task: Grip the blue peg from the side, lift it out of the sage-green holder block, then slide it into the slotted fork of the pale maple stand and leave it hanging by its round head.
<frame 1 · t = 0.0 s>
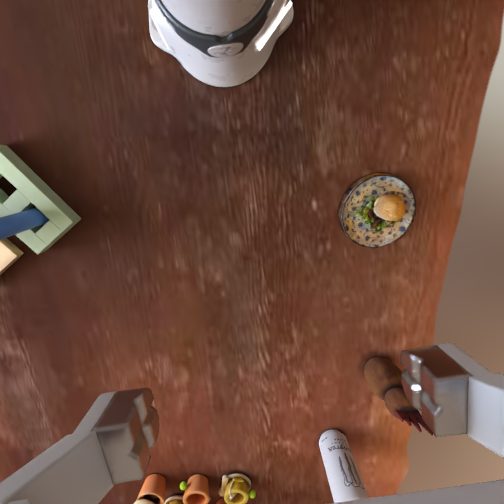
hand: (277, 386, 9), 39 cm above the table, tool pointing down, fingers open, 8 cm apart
toy tea set: (197, 490, 68), on the table
peg: (43, 214, 46), resting in holder
holder: (28, 200, 45), on the table
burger: (374, 210, 48), on the table
energy drink can: (331, 437, 64), on the table
wooden figurine: (375, 363, 58), on the table
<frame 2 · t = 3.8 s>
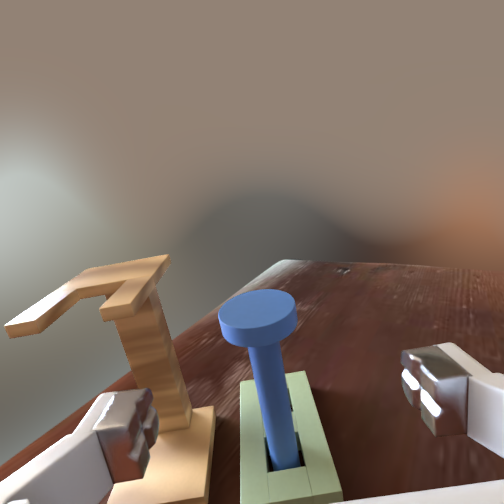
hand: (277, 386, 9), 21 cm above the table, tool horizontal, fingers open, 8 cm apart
peg: (287, 470, 28), resting in holder
holder: (283, 442, 30), on the table
stand: (170, 461, 31), on the table
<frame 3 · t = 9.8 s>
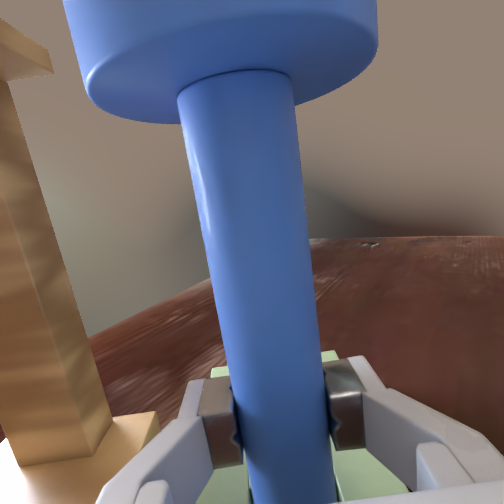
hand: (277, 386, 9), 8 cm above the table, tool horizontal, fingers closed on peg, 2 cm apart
holder: (294, 499, 13), on the table
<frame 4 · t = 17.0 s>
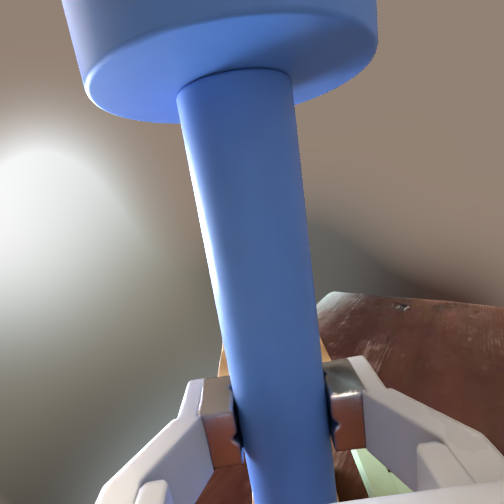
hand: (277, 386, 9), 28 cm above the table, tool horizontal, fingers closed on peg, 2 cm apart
holder: (411, 500, 30), on the table
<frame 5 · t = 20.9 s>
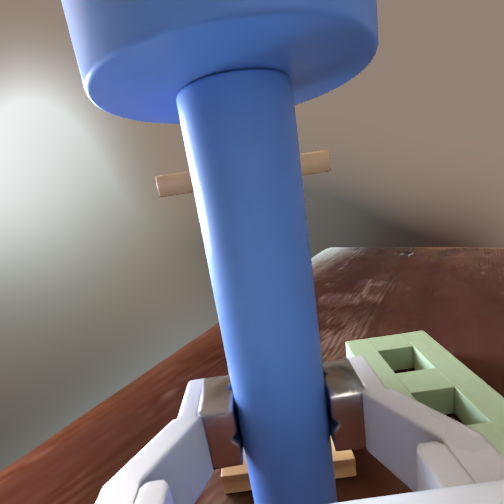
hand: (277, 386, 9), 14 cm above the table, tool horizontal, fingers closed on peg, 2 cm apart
holder: (423, 405, 24), on the table
stand: (281, 425, 25), on the table
when the fingers open (13 cm above the table, at t = 24.2 s): peg stays where it is, resting on stand.
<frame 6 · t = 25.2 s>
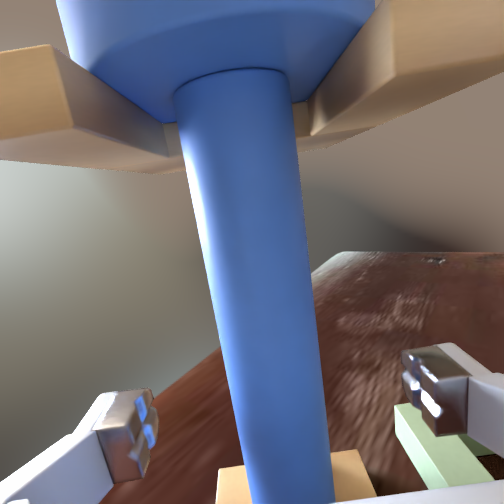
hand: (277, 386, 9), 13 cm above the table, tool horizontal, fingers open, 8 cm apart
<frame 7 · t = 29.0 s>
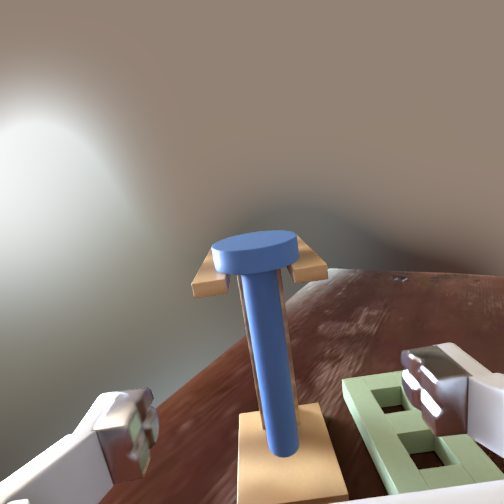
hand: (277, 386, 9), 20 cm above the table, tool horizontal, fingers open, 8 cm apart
peg: (283, 443, 24), point 5 cm above the table, touching stand
holder: (408, 442, 28), on the table
stand: (286, 459, 28), on the table
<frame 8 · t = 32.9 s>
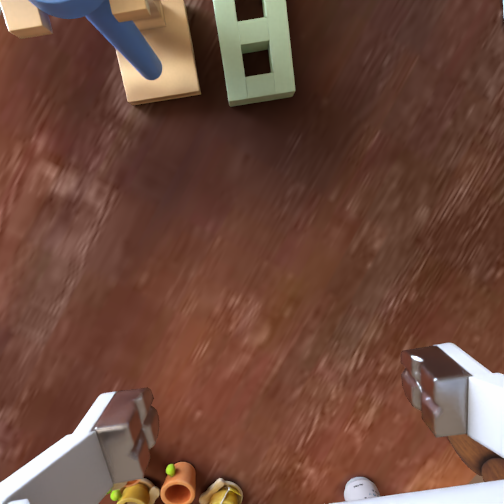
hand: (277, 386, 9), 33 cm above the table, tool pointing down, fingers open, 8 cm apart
toy tea set: (170, 483, 52), on the table
peg: (150, 67, 32), point 5 cm above the table, touching stand
holder: (252, 41, 36), on the table
stand: (158, 56, 36), on the table
energy drink can: (358, 486, 53), on the table
wooden figurine: (455, 424, 50), on the table
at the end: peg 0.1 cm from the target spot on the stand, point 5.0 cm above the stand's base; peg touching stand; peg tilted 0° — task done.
